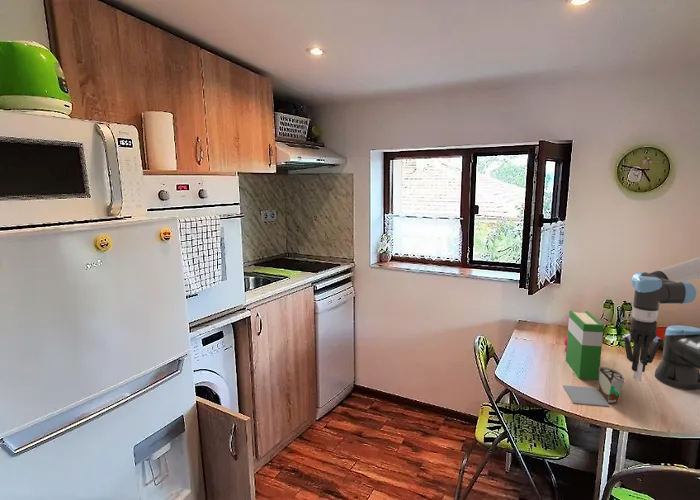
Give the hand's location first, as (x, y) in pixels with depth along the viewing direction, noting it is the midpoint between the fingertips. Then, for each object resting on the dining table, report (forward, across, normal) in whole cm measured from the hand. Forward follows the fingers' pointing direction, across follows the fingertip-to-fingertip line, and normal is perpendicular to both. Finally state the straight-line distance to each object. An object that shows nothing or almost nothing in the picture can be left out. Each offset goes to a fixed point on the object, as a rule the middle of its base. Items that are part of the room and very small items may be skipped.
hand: (637, 379), depth 153 cm
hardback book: (+9, -11, +23) cm, 27 cm away
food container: (+9, -8, 0) cm, 12 cm away
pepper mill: (+9, -9, +42) cm, 44 cm away
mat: (+9, -17, 0) cm, 19 cm away
